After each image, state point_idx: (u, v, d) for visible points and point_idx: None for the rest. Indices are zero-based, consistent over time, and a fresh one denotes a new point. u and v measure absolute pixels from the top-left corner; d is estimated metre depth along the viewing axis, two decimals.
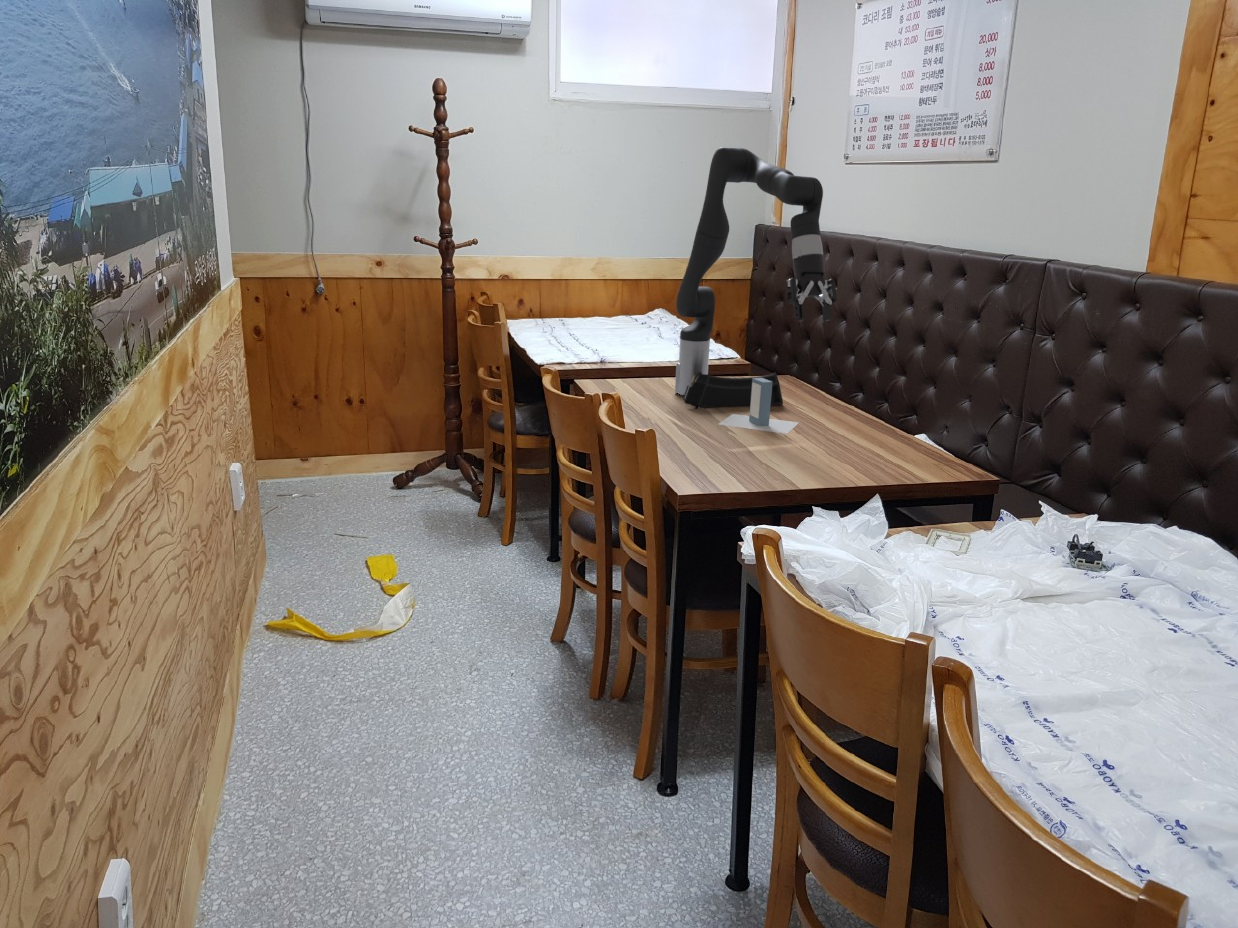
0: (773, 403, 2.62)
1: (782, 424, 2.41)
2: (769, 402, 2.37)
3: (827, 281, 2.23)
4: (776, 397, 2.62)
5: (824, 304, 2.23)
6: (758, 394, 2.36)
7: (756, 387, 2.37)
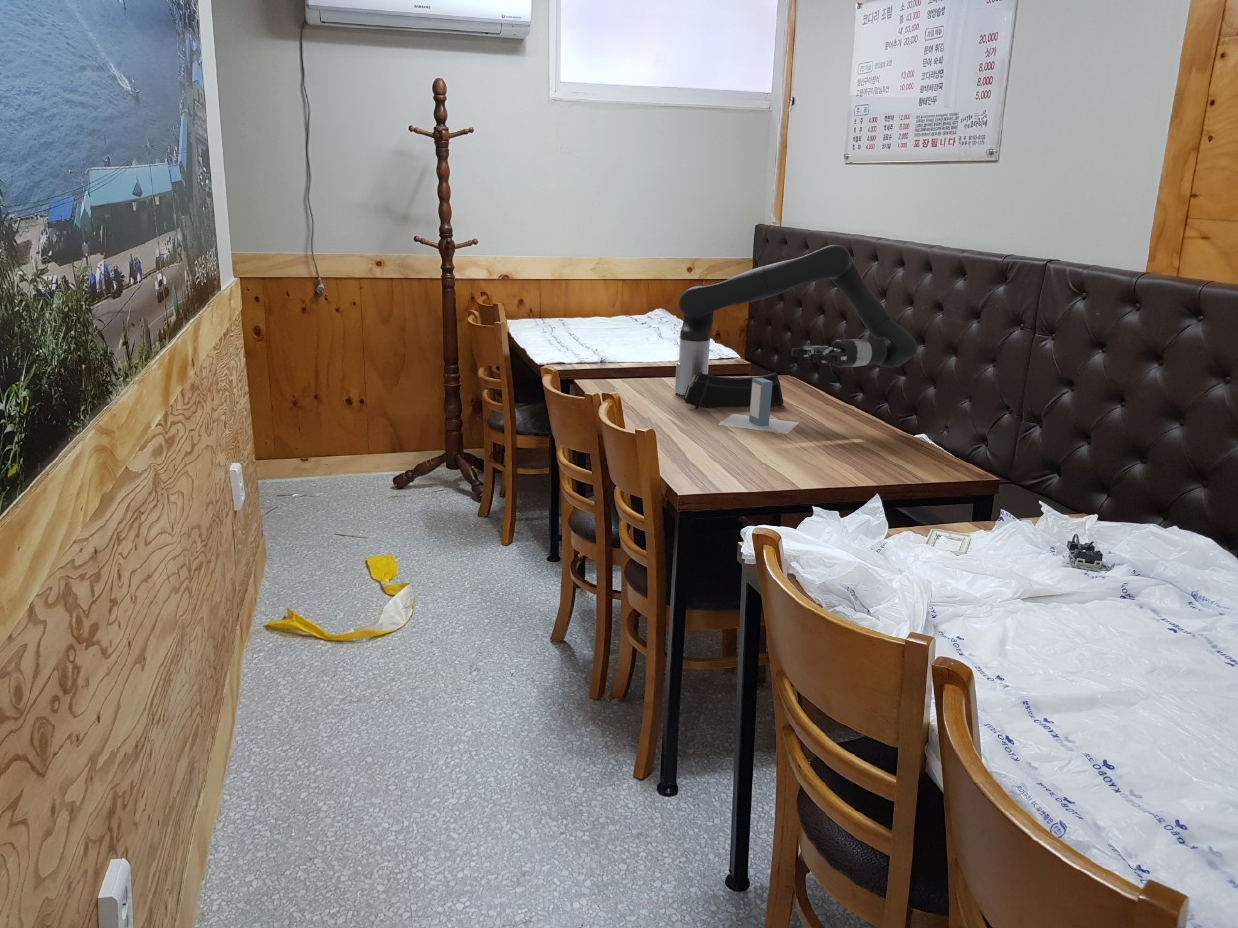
0: (773, 403, 2.62)
1: (782, 424, 2.41)
2: (769, 402, 2.37)
3: None
4: (776, 397, 2.62)
5: (805, 351, 2.44)
6: (758, 394, 2.36)
7: (756, 387, 2.37)
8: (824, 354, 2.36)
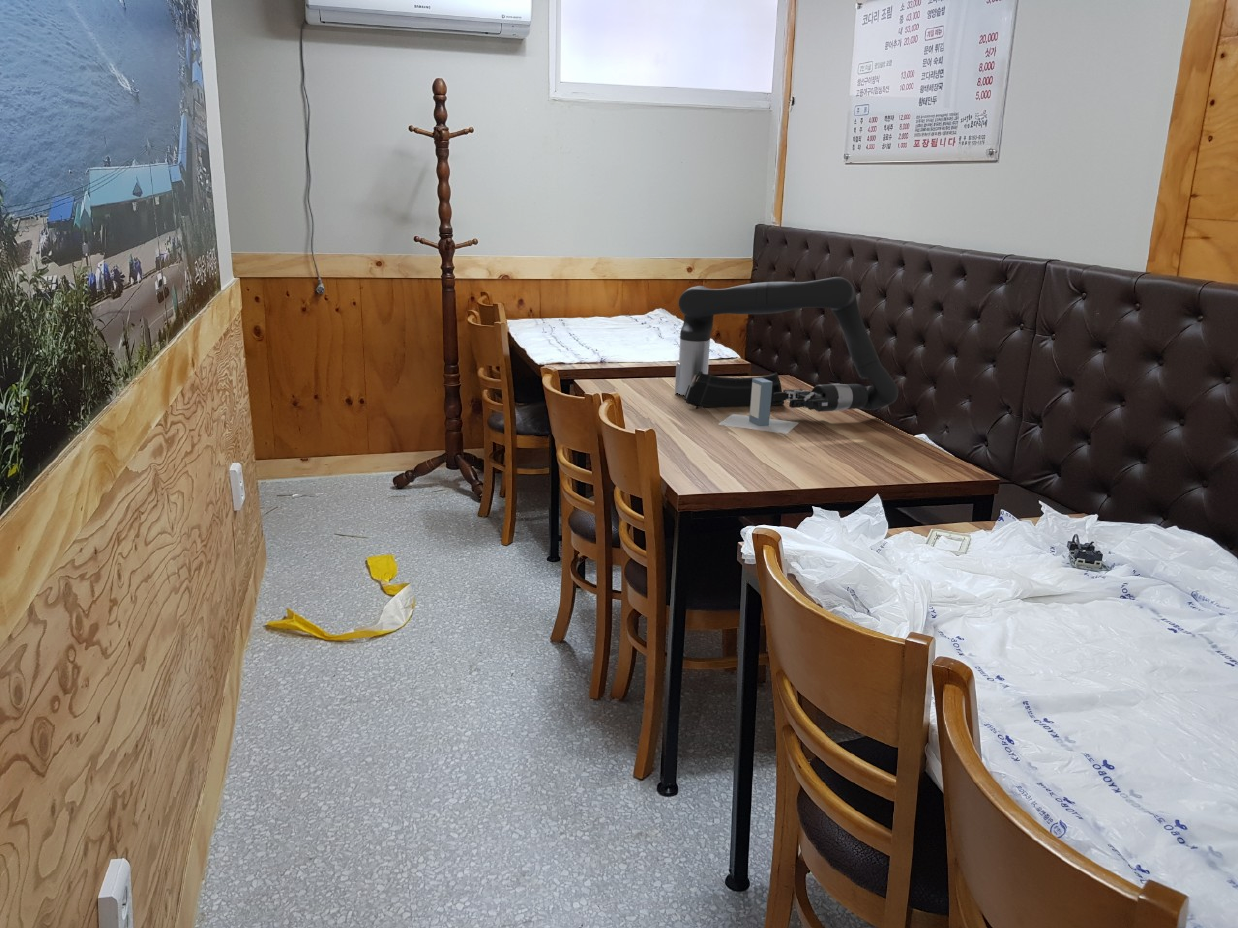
0: (774, 403, 2.62)
1: (782, 424, 2.41)
2: (769, 402, 2.37)
3: None
4: None
5: (787, 395, 2.47)
6: (758, 394, 2.36)
7: (756, 387, 2.37)
8: (805, 400, 2.38)
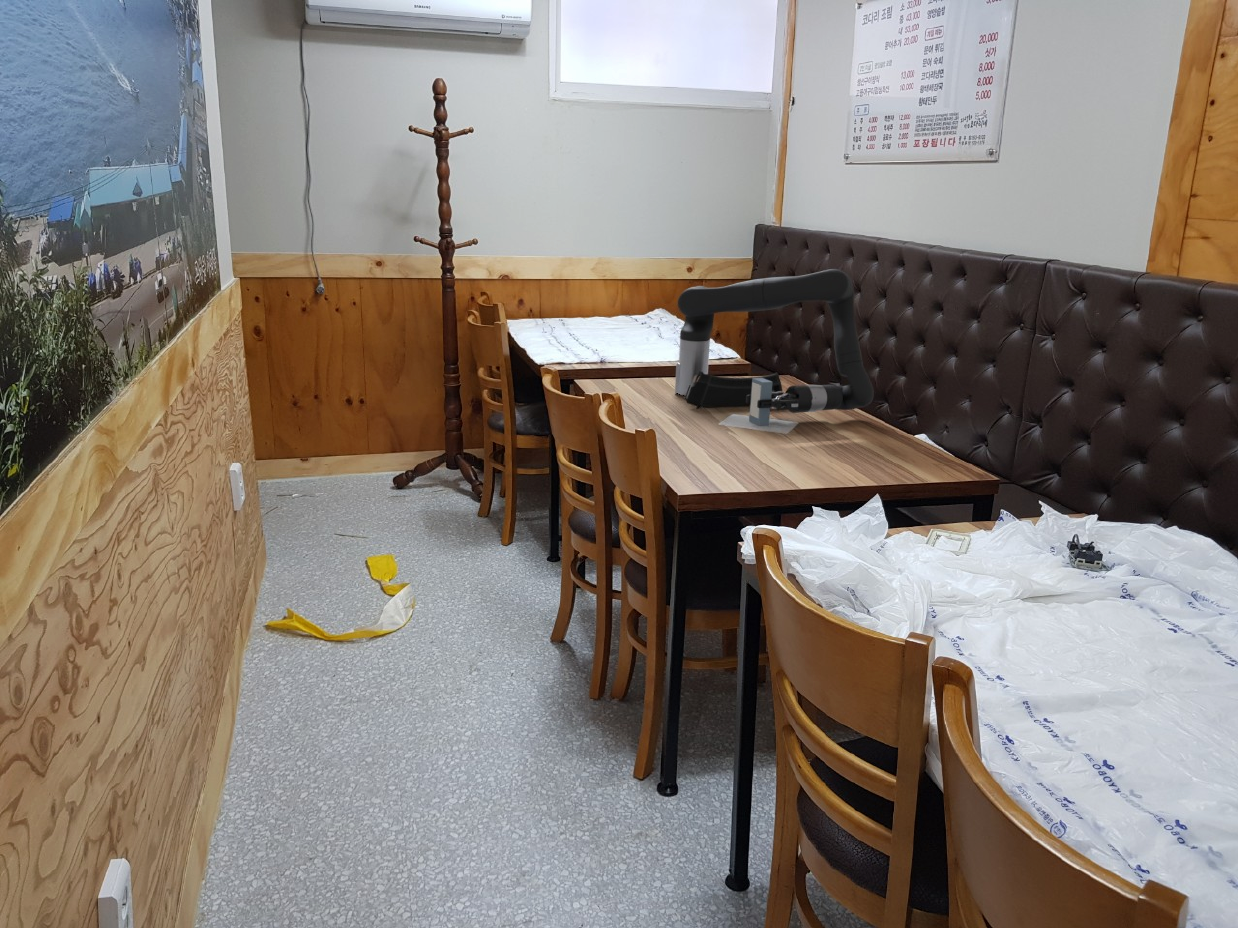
0: None
1: (782, 424, 2.41)
2: None
3: None
4: None
5: None
6: (758, 394, 2.36)
7: (756, 387, 2.37)
8: (772, 400, 2.36)
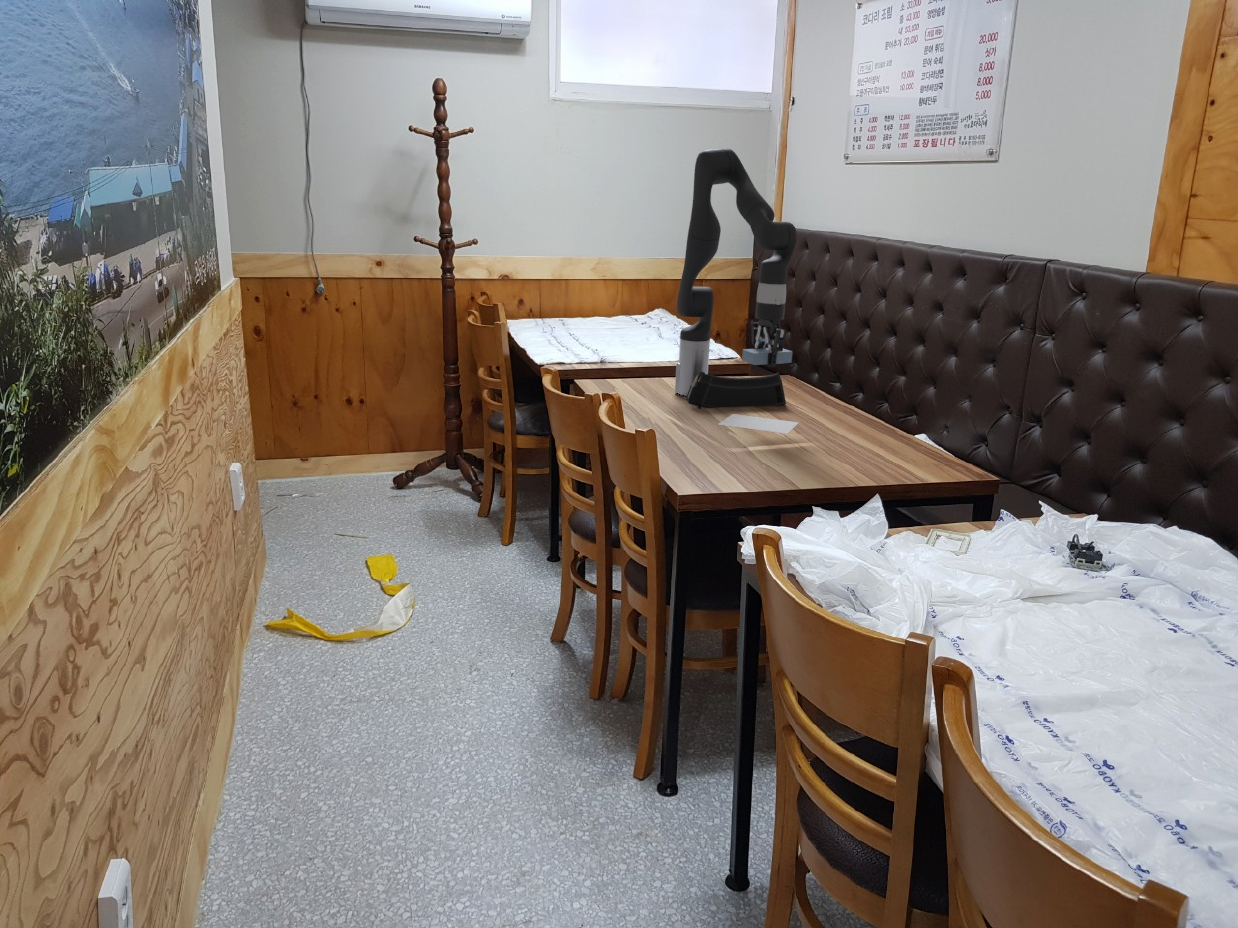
0: (776, 403, 2.63)
1: (782, 424, 2.41)
2: None
3: None
4: (779, 397, 2.62)
5: (760, 347, 2.38)
6: None
7: None
8: (771, 352, 2.31)
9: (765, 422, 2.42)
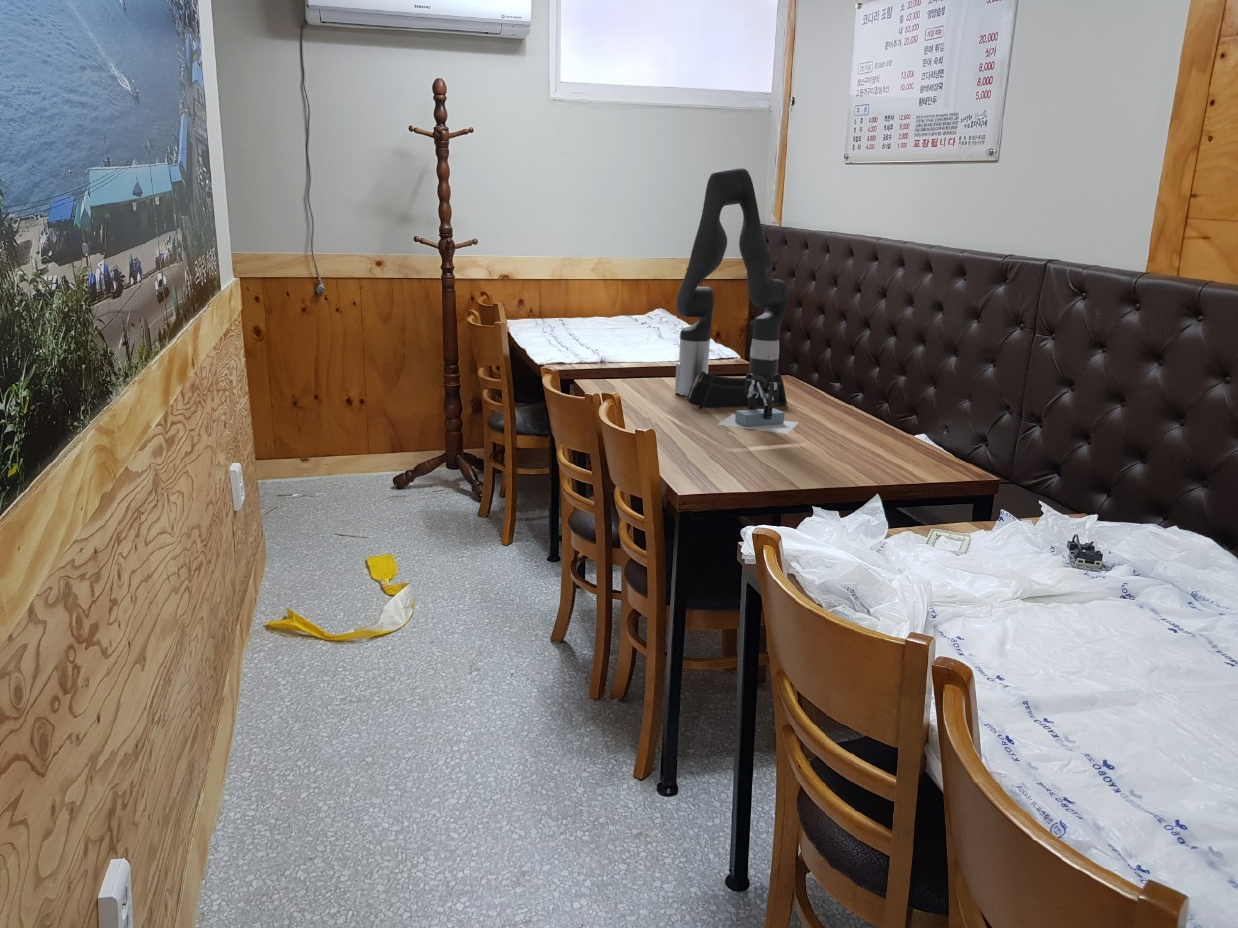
0: None
1: (782, 424, 2.41)
2: None
3: None
4: (780, 397, 2.62)
5: (752, 397, 2.42)
6: None
7: None
8: (767, 405, 2.34)
9: None
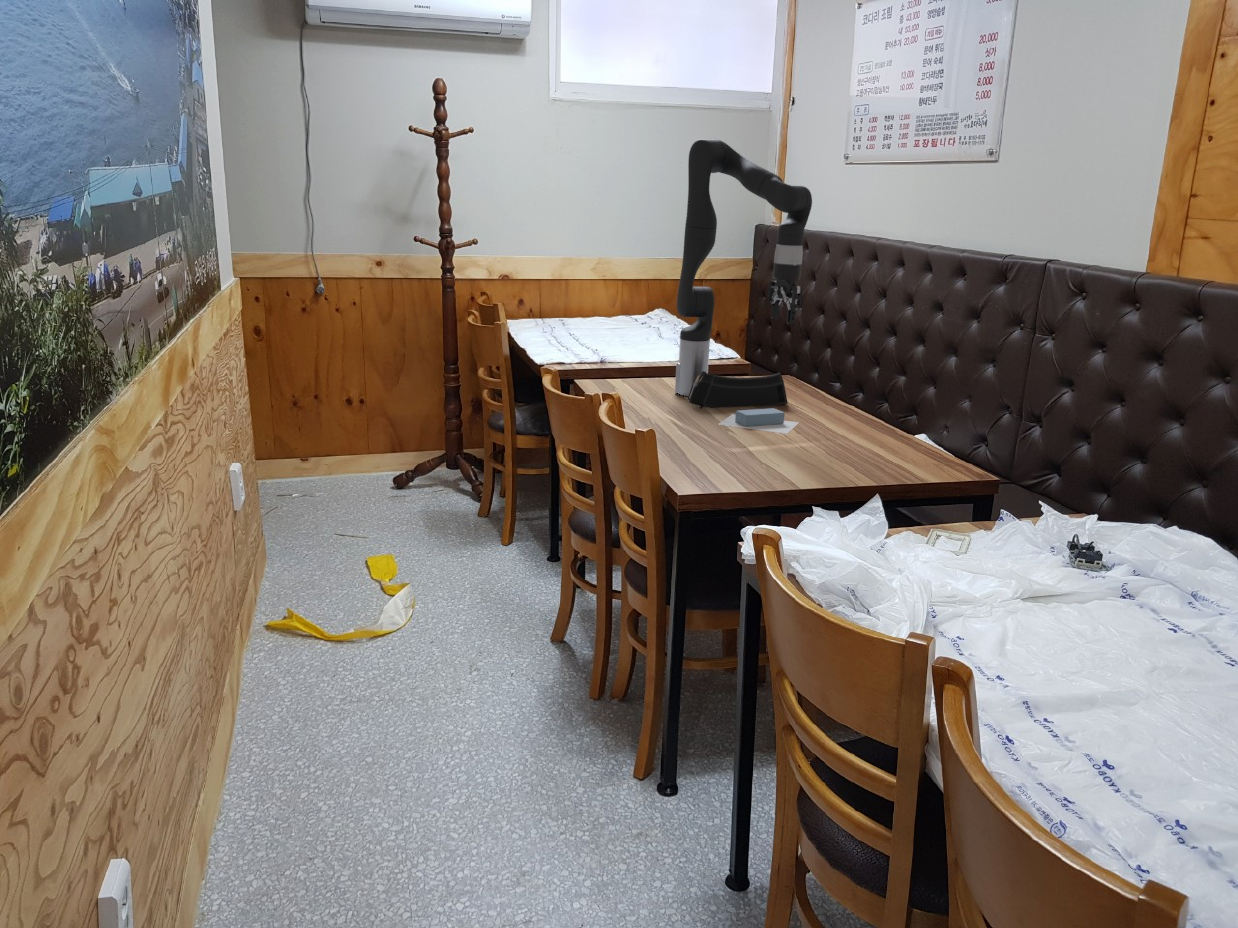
0: (778, 403, 2.63)
1: (782, 424, 2.41)
2: (764, 415, 2.38)
3: None
4: (780, 397, 2.62)
5: (775, 304, 2.50)
6: None
7: None
8: (790, 309, 2.42)
9: None
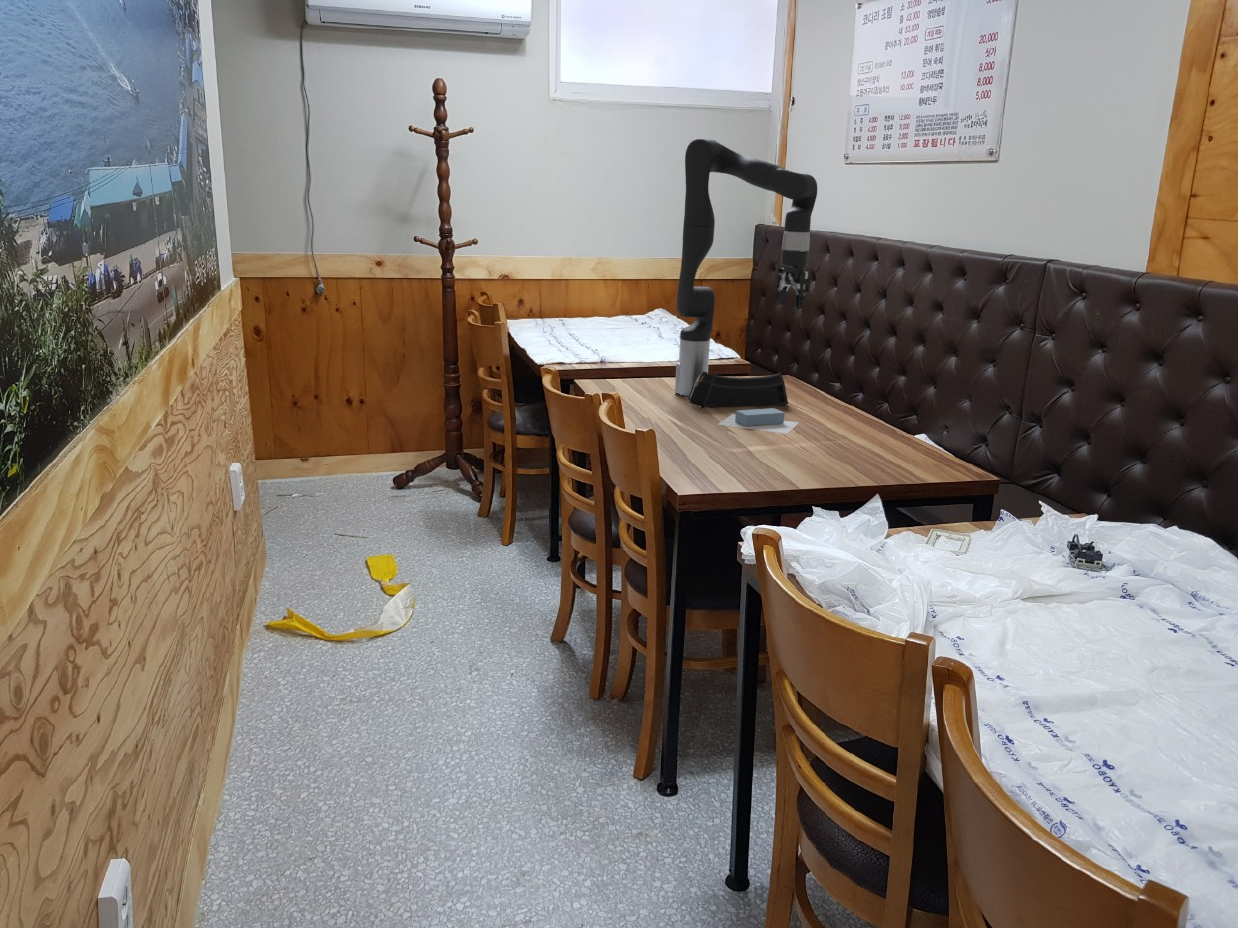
0: (778, 403, 2.63)
1: (782, 424, 2.41)
2: (764, 415, 2.38)
3: None
4: (781, 397, 2.62)
5: (783, 290, 2.55)
6: None
7: None
8: (798, 294, 2.47)
9: None
